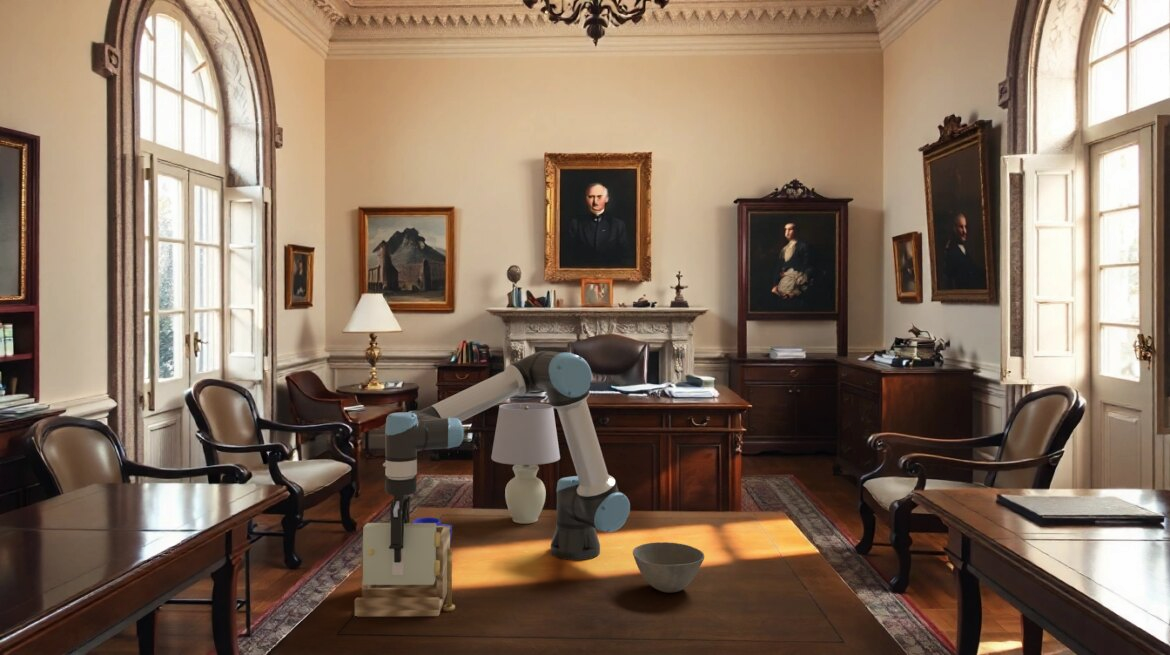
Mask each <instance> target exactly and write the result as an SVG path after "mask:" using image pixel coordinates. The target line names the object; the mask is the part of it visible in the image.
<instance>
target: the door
mask: <svg viewBox="0 0 1170 655" xmlns="http://www.w3.org/2000/svg"><path fill="white" fill-rule="evenodd" d="M362 532H363V533H362V541H363V585H433V584H434V582H435V580H436V575H439V574H440V561H439V560H436V547H439V546H440V532H436V523H413V522H409V523H404V538H403V547H404V575H392V549H389V546H390V545H391V522H366V524H365V525H364V526H363V529H362Z"/></svg>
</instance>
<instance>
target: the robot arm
mask: <svg viewBox="0 0 1170 655" xmlns="http://www.w3.org/2000/svg"><path fill="white" fill-rule="evenodd" d="M592 380H593V373H592V370H591V367H590V365H589V363H588V361H587V360H585V358H583V357H582V356H580V355H577V354H574V353H572V352H567V351H566V352H565V351H564V352H559V351H550V350H541V351H537V352H534V353H532V354H530V355H527V356H526V357H523V358H521V359H519V360H516V361H515V362H512V363H511V364H508V365H507V366H506V367H505V370H504V371H501V372H499V373H497V374H495V375H493V376H491V377H490V378H486V379H485V380H483V381H480V382H478V383H476V384H474V385H472V386H470V387H468V388H466V389H464V390H462V391H459V392H457V393H456V394H453V395H451V396H448V397H446V398H445V399H443V400H440V401H439V402H436V403H434V404H432V405H430V406H427V407H425V408H423V409H421V410H409V411H408V412H407V411H406V412H403V411H402V412H393V413H389V414H388V415H387V417H386V420H385V428H384V430H385V431H384V436H385V445H384V447H385V462H383V464H382V467H385V469H384V470H385V474H384V475H385V476H386V477H385V480H384V492H385V493H386V494H388V495H392V496H393V499H392V500H391V502H390V510H389V514H390V523H391V545H390V546H389V549H392V575H404V547H403V538H404V523H410V522H411V521H410V513H411V512H410V509H411V507H410V506H411V496H410V495H412V494H414V493H416V492H417V479H418V478H417V476H416V475H418V454H417V453H418V452H419V451H429V450H440V449H441V450H442V449H450V448H457V447H459V446H460V445H462V443H463V440H464V433H465V432H464V426H463V423H462V422H463V421H467V419H470V418H472V417H473V416H475V415H476V416H477V415H478V414H480V413H482V412H484V411H486V410H488V409H490V408H492V407H494V406H496V405H498V404H500V403H502V402H504V401H506V400H509V399H511V398H513V397H515V396H516V395H517V396H520V397H523V396H524V395H526V394H529V393H533V392H544V393H546V396H547V399H548V403H549V405H550V406H551V407H553V409H556V410H557V414H558V417H559V420H560V423H561V427H562V430H563V433H564V437H565V439H566V440H565V441H566V444H567V446H568V450H569V453H570V457H571V460H572V462H573V466H574V469H575V473H576V475H573V476H567V477H566V476H565V477H562V478H560V479H559V480H557V485H556V528H555V530H554V533H553V536H552V539H551V543H550V551H549V552H550V554H551V555H552V556H554V557H556V558H558V559H559V558H560V559H562V560H563V559H565V560H573V561H574V560H575V561H576V560H577V561H578V560H587V559H589V560H590V559H592V558H594V557H595V558H596V557H598V556H599V555H600V553H601V544H600V540H599V537H598V533H597V530H598V531H601V532H605V533H612V532H613V533H614V532H616V531H618V530H619V529H621V528H622V527H623V526H624V525H625V523H626V522H627V518H628V517H629V515H630V513H631V512H630V511H631V502H630V500H629V499H628V496H626V494H625V493H623V492H620V491H619V488H618V485H617V481H616V479H615V478H614V477H613V476H612V475H610V474H609V473H608V469H607V466H606V462H605V459H604V456H603V452H602V449H601V446H600V443H599V439H598V436H597V432H596V429H595V425H594V423H593V418H592V415H591V412H590V408H589V406H588V402H587V400H588V398H589V396H590V393H591V392H590V387H591V383H592Z"/></svg>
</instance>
